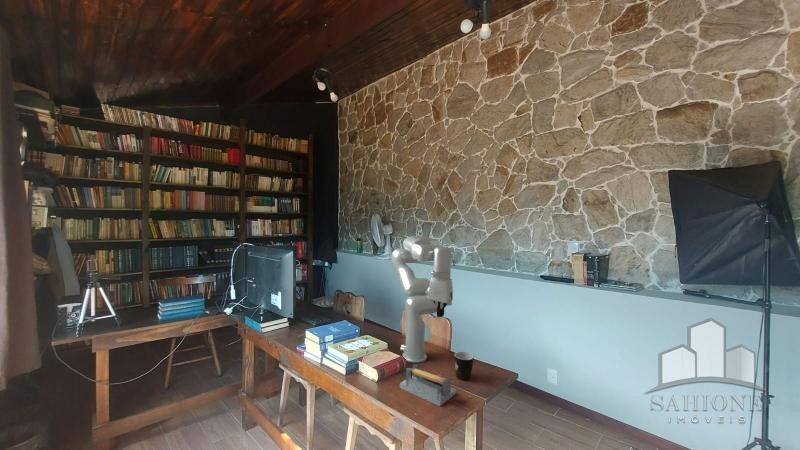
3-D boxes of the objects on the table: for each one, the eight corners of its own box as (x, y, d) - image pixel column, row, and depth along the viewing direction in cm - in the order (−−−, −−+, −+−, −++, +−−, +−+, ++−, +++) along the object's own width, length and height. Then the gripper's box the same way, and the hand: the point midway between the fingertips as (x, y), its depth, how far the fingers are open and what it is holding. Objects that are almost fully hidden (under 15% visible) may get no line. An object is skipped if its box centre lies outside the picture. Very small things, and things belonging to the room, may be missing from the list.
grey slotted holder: (399, 387, 140) (400, 369, 140) (416, 377, 149) (417, 360, 149) (439, 406, 127) (440, 386, 127) (455, 393, 137) (456, 374, 136)
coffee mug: (473, 383, 146) (474, 360, 145) (453, 380, 147) (454, 358, 147) (472, 371, 157) (473, 350, 157) (454, 368, 159) (455, 348, 158)
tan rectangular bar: (408, 373, 142) (408, 369, 142) (413, 370, 145) (413, 366, 145) (442, 385, 132) (442, 381, 132) (446, 382, 134) (446, 378, 134)
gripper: (422, 273, 147) (421, 314, 147) (452, 278, 137) (450, 322, 138) (432, 271, 153) (430, 311, 153) (461, 276, 143) (459, 318, 144)
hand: (440, 316), depth 146 cm, fingers closed
